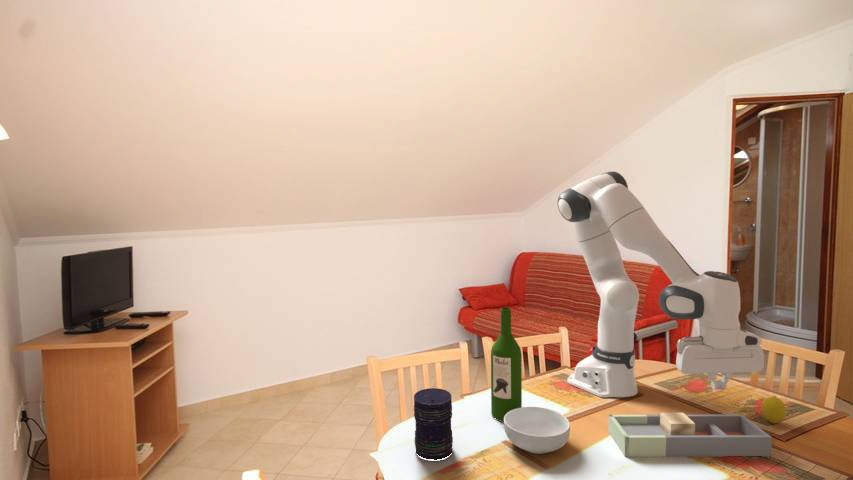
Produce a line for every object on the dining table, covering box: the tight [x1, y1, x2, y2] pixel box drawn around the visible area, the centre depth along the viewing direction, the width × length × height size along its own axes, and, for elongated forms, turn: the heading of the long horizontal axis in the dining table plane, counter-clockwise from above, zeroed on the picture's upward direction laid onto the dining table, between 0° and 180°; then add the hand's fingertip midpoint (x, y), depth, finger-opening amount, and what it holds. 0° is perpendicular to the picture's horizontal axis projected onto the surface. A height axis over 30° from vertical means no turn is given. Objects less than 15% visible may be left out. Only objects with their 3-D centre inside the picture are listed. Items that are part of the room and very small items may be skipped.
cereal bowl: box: [503, 406, 571, 455], centre depth 125 cm, size 17×17×7 cm
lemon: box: [761, 395, 787, 425], centre depth 133 cm, size 6×6×8 cm
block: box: [659, 412, 695, 435], centre depth 124 cm, size 6×6×4 cm
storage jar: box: [413, 387, 454, 460], centre depth 122 cm, size 10×10×15 cm
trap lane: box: [607, 413, 773, 458], centre depth 124 cm, size 36×12×5 cm, turn 88°
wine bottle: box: [490, 307, 523, 422], centre depth 140 cm, size 9×9×32 cm
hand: (718, 388), depth 122 cm, fingers closed
